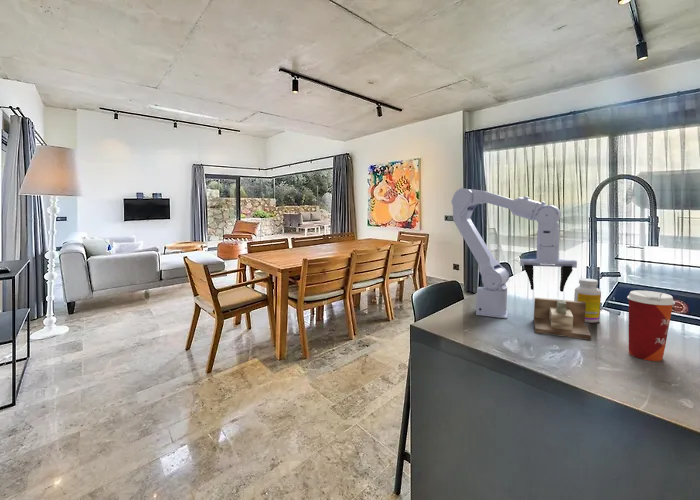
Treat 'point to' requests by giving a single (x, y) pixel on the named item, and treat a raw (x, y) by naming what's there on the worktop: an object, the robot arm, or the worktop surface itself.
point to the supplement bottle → (589, 298)
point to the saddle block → (561, 316)
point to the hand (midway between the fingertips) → (546, 289)
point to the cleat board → (543, 321)
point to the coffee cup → (649, 323)
